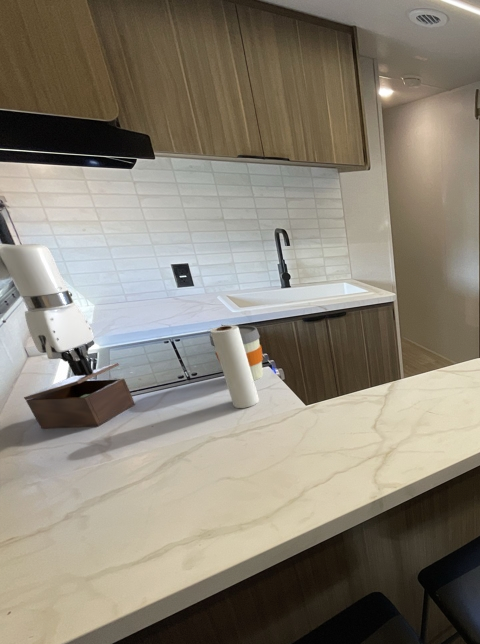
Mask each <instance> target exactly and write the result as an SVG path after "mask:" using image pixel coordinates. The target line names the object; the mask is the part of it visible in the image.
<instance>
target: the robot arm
mask: <svg viewBox="0 0 480 644" xmlns="http://www.w3.org/2000/svg"><path fill="white" fill-rule="evenodd" d="M5 280H6V281H7V280H12V282H13V284H14V286H15V288H16V290H17V292H18V294H19V295H20V298H21V299H22V302H23V303H24V306H25V307H26V309H27V310H26V311H24V318H25V322H26V326H27V328H28V331H29V334H30V336H31V340H32V341H33V343H34V346H35V348H36V349H37V351H38V352H39V353H42V354H46V356H47V359H48V360H58V359H60V360H62V361H63V362H65V363H66V362H67V364H68V365H69V368H70V370H71V372H72V374H73V376H86V375H89V374H91V373H93V371H92V370H93V369H92V367H91V364H90V362H89V360H88V358H89V353H88V352H89V349H90V348H91V347H93V346H94V345H95V341H94V339H95V334H94V332H93V330H92V327H91V324H90V322H88V319H87V318H86V316H85V314H84V313H83V311H82V309H80V307H79V305H78V304H77V303H76V302H74V300H73V297H72V296H73V293H72V292H71V291H69V289H68V287H67V285H66V283H65V281H64V278H63V276H62V274H61V272H60V270H59V267H58V265H57V263H56V261H55V258H54V256H53V254H52V252H51V250H50V249H49V248H48V246H46V245H44V244H40V243H38V244H37V243H25V244H24V243H23V244H8V243H0V281H5Z"/></svg>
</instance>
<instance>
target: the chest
mask: <svg viewBox="0 0 480 644" xmlns="http://www.w3.org/2000/svg"><path fill="white" fill-rule="evenodd" d="M85 394H90V395H88V396H86V397H81V396H83V395H85ZM25 402H26V403H27V406H28V407H29V409H30V410H31V412H32V414H33V416H34V418H35V420H36V422H37V423H38V425H39V427H40V429H63V428H65V429H66V428H67V429H68V428H91V427H92V428H93V427H100V426H102V425H103V424H105V423H107V422H108V421H110V420H112V419H113V418H115V417H116V416H118V415H120V414H122V413H123V412H126V411H127V410H128V409H130V408H132V407H133V406H135V405H136V403H135V400H134V398H133V396H132V393H131V392H130V389H129V386H128V384H127V381H126V380H125V378H106V379H105V378H98V379H97V378H96V379H88V380H86V381H84V382H82V383H79V384H76V385H73V386H70V387H67V388H63V389H60V390H57V391H53V392H50V393H47V394H44V395H40V396H37V397H34V398H31V399H27V400H25Z"/></svg>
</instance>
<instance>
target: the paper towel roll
mask: <svg viewBox="0 0 480 644" xmlns="http://www.w3.org/2000/svg"><path fill="white" fill-rule="evenodd" d="M238 326H239V325H234V324H221V325H220V326H217V327H214V328H212V329H210V330H209V332H210V333H211V335H212V338H213V342H214V345H215V348H216V351H217V354H218V357H219V360H218V362H219V361H220V362H219V364H221V365H220V367H221V369H222V374H223V376H224V379H225V383H226V386H227V389H228V391H229V394H230V398H231V401H232V402H231V403H232V405H233V407H234V408H237V409H244V408H245V409H246V408H250V407H253V406H256V405H257V404H258V403H259V402H260V398H259V394H258V391H257V387H256V383H255V381H254V380H253V377H252V373H251V370H250V366H249V363H248V359H247V356H246V352H245V349H244V345H243V342H242V338H241V335H240V331H239V328H238ZM216 351H215V352H216Z"/></svg>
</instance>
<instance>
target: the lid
mask: <svg viewBox="0 0 480 644" xmlns="http://www.w3.org/2000/svg"><path fill="white" fill-rule="evenodd" d="M119 366H120V364H119V363H118V362H115V363H112V364H108V365H106V366H102V367H99V368H95V369H92V371H93V373H91V374H89V375H86V376H75V375H73V376H70V377H68V378H65V379H62V380H59V381H58V382H56V383H54V384H51V385H49V386H47V387H44V388H42V389H40V390H38V391H35V392H33V393H31V394H28V395H26V396H24V397H23V399H24V400H25V401H26V400H28V399H31V398H34V397H37V396H40V395H44V394H47V393H50V392H53V391H57V390H60V389H63V388H67V387H70V386H73V385H76V384H79V383H82V382H84V381H86V380H91V379H92V378H95V377H97V376H99V375H101V374H103V373H106V372H107V371H110V370H112V369H114V368H116V367H119Z"/></svg>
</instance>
